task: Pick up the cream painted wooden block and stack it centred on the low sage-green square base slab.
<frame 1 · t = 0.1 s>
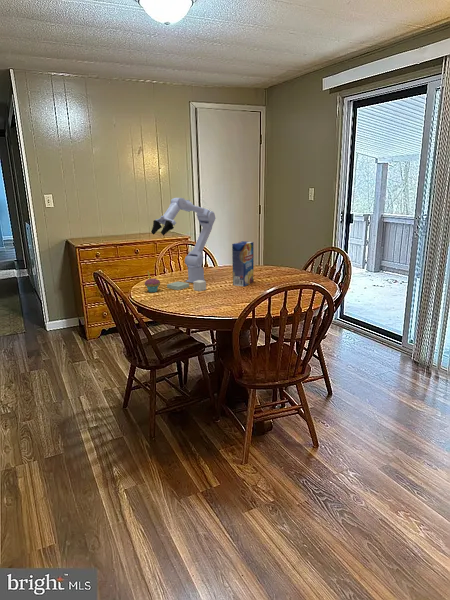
hand: (157, 233, 217), 32 cm above the table, tool tilted 50°, fingers open, 7 cm apart
base: (178, 287, 234), on the table
cupcake: (152, 291, 227), on the table
juice carton: (243, 283, 240), on the table
block: (199, 289, 228), on the table
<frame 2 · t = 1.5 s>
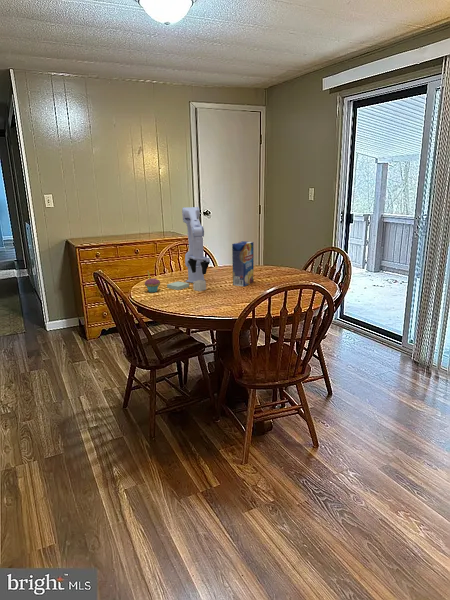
hand: (199, 273, 225), 9 cm above the table, tool pointing down, fingers open, 7 cm apart
nothing on the table moved.
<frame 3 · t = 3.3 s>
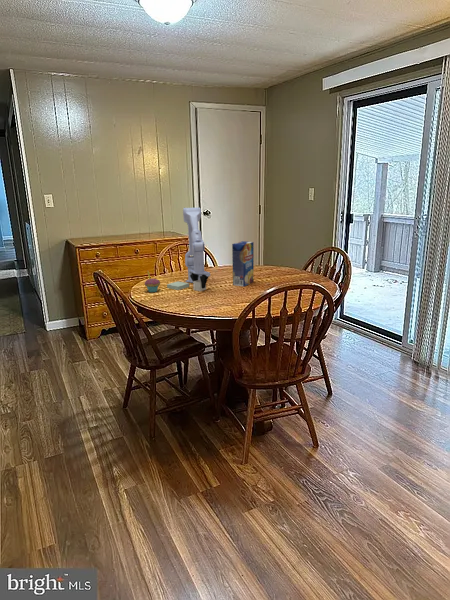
hand: (199, 287, 228), 1 cm above the table, tool pointing down, fingers closed on block, 5 cm apart
block: (199, 289, 228), on the table, touching gripper
everything else where it was.
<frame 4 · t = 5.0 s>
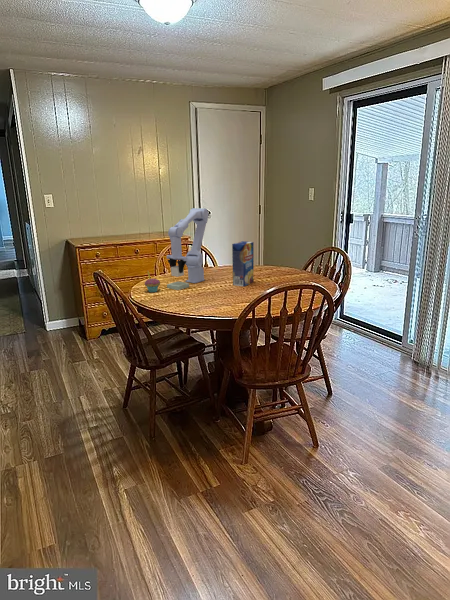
hand: (177, 272, 232), 9 cm above the table, tool pointing down, fingers closed on block, 5 cm apart
block: (177, 275, 232), point 7 cm above the table, touching gripper
everything else where it was.
when the fingers open (5 cm above the table, at t = 6.7 s): block stays where it is, resting on base.
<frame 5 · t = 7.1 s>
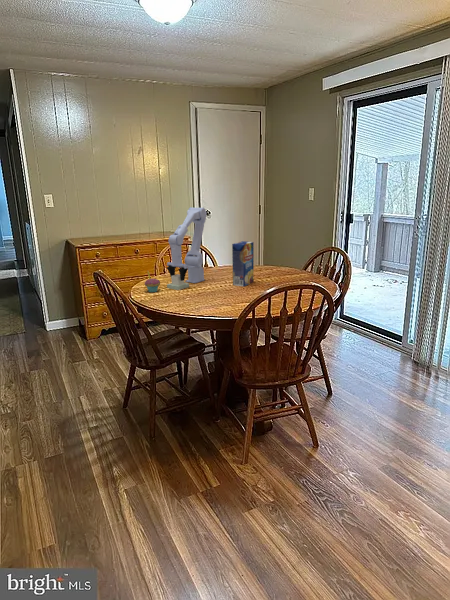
hand: (177, 279, 233), 5 cm above the table, tool pointing down, fingers open, 7 cm apart
block: (178, 283, 234), point 2 cm above the table, touching base
everything else where it was.
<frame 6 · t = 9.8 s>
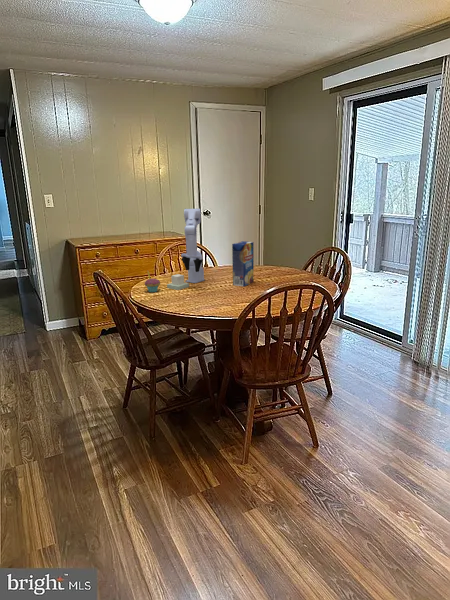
hand: (192, 270, 230), 10 cm above the table, tool pointing down, fingers open, 7 cm apart
nothing on the table moved.
at the end: block 0.1 cm off-centre on the base, point 2.0 cm above the base's base; block tilted 0°; the gripper is holding nothing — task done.
